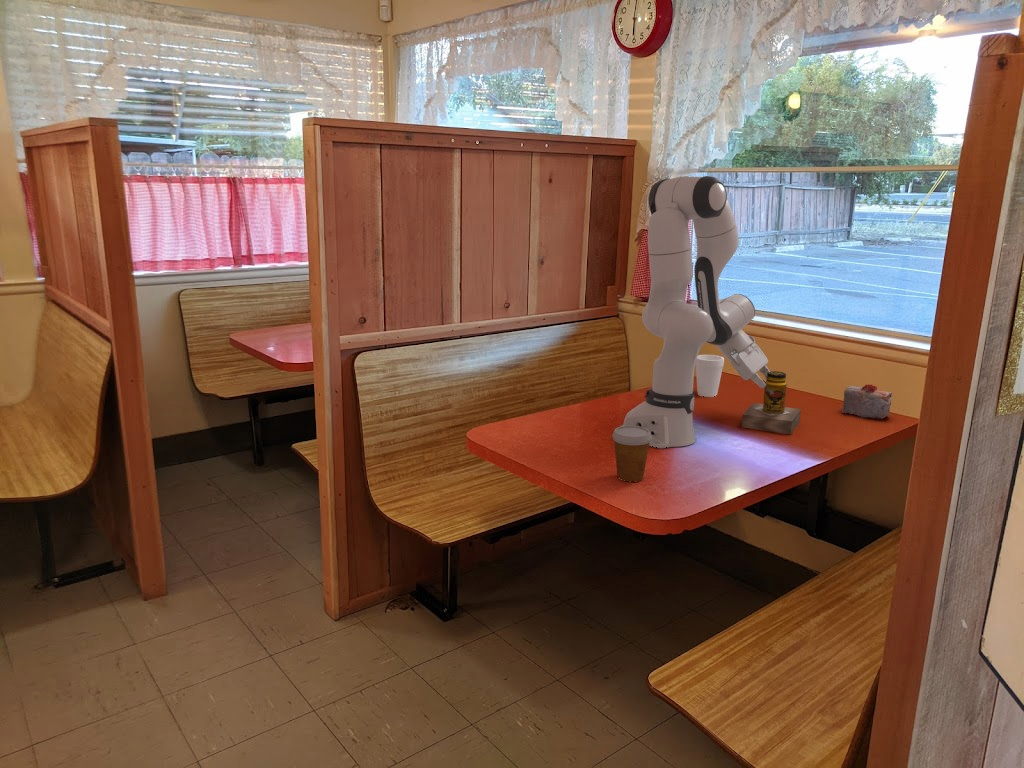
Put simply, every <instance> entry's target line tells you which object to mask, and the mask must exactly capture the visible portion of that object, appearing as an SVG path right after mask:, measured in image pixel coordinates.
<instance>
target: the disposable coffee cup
mask: <svg viewBox="0 0 1024 768" xmlns="http://www.w3.org/2000/svg"><path fill="white" fill-rule="evenodd" d="M620 426H621V427H620ZM620 426H617V427H616V428H614V431H613V433H612V435H611V437H612V439H613V443H614V444H613V445H614V453H615V465H616V477H617V476H618V477H617V479H618V478H620V479H622V480H625V481H634V482H633V483H636V482H635V481H639V482H641V481H643V480H644V475H645V471H646V470H645V469H646V465H647V460H648V454H649V447H650V446H649V443H650V441H651V439H652V436H651V434H650V431H649V430H648V429H646V428H643V427H639V426H622V425H620ZM620 479H619V480H620ZM642 479H643V480H642ZM622 480H621V481H622ZM640 480H641V481H640ZM625 481H624V482H625Z"/></svg>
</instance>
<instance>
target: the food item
mask: <svg viewBox="0 0 1024 768" xmlns="http://www.w3.org/2000/svg"><path fill="white" fill-rule="evenodd" d="M893 396H894V394H893V392H891V391H884V390H878V387H877V386H876V385H873V384H867V383H866V384H865V385H863V386H857V385H856V386H855V385H849V386H848V387H846V388H845V389H844V391H843V402H842V410H841V411H842V414H846V413H849V414H848V415H852V414H854V415H853V416H858V417H860V416H861V417H860V418H871V419H875V418H877V420H882V419H884V418H886V417H889V416H890V412H891V406H892V400H893Z"/></svg>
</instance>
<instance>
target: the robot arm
mask: <svg viewBox="0 0 1024 768" xmlns="http://www.w3.org/2000/svg"><path fill="white" fill-rule="evenodd" d="M647 199H648V201H647V203H648V208H649V212H650V214H651V215H650V217H649V219H648V225H647V226H648V227H647V249H648V261H649V262H648V264H649V275H650V289H649V295H648V300H647V303H646V305H645V306H644V307H643V310H642V314H641V321H642V324H643V325H644V327H645V328H646V330H647V331H649V332H650V333H651V334H652V335H653V336H655V337H658V338H660V339H663V345H662V349H661V352H660V354H659V356H658V357H657V358H655V360H654V362H653V365H652V367H653V368H652V369H653V370H652V384H651V386H649V387H648V388H647V390H646V391H645V392H643V398H644V399H645V401H643V402H641V403H639V404H637V405H636V406H635V407H634V408H632V409H631V410H629V411H628V412H627V414H626V415H625V417H624V420H623V424H622V425H620V426H619V427H621V426H639V427H643V428H646V429H648V430H649V431H650V434H651V436H652V439H651V441H650V443H649V447H652V446H653V447H652V448H656V447H657V449H666V447H667V448H673V447H674V448H675V447H676V448H678V447H685V446H689V445H693V444H694V443H696V442H697V441H696V440H697V439H696V435H695V430H694V422H693V412H694V408H695V391H694V378H695V369H696V364H695V363H696V359H697V356H698V355H699V352H700V351H701V348H702V347H703V345H704V344H705V343H708V344H710V345H714V346H716V347H717V348H718V350H719V351H720V352H721V353H722V355H723V356H724V357H725V358H726V359H727V361H729V362H730V364H731V365H732V367H733V368H734V370H735V371H736V372H737V373H738V375H739V376H740V377H741V378H742V379H743V380H744V381H748V380H749V379H750V380H751V381H752V382H753V383H755V384H756V385H757V386H758V387H759V388H760V389H764V388H765V386H766V385H767V383H766V380H767V373H768V372H771V371H770V369H769V368H768V366H767V364H769V359H768V358H767V356H766V355H765V353H764V352H763V350H762V349H761V348H760V346H759V345H758V344H757V343H756V339H755V338H754V337H753V336H751V335H748V333H746V332H745V331H744V330H743V329H744V327H746V326H747V325H748V324H750V323H751V322H752V320H753V319H754V318H755V315H756V308H755V306H754V303H753V302H752V300H751V299H750V298H749V297H748V296H746V295H743V294H741V293H736V294H733V295H730V296H727V297H725V298H721V299H720V296H719V295H720V294H719V288H718V287H719V286H718V285H719V283H718V282H719V279H720V277H721V274H722V273H723V271H724V269H725V267H726V266H727V265H728V263H729V261H730V260H731V259H732V257H734V255H735V253H737V252H736V251H737V249H738V247H739V231H738V228H737V223H736V220H735V214H734V212H733V210H732V207H731V204H730V202H729V199H728V194H727V189H726V186H725V184H724V183H723V181H722V180H721V179H720V178H718V177H714V176H712V175H711V176H708V175H704V176H689V175H688V176H687V175H684V176H678V177H672V178H665V179H661V180H658V181H657V182H655V183H653V185H652V186H651V188H650V191H649V192H648V198H647ZM691 220H692V225H693V230H694V234H695V238H696V246H697V247H696V250H697V251H696V258H695V259H696V260H695V264H694V267H693V257H692V256H693V255H692V244H691V237H690V232H689V228H688V225H689V222H690V221H691ZM693 277H694V278H693ZM693 279H694V284H695V292H696V301H697V305H696V304H695V305H693V304H691V303H687V300H686V295H687V289H688V286H689V284H690V283H691V282H692V281H693ZM759 371H760V374H761V373H762V375H763V376H764V378H765V380H764V379H762V378H761V377H760V376H759V373H758V372H759Z"/></svg>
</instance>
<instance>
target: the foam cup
mask: <svg viewBox="0 0 1024 768" xmlns="http://www.w3.org/2000/svg"><path fill="white" fill-rule="evenodd" d="M724 366H725V358H724V357H723V356H721V355H716V354H698V356H697V359H696V363H695V374H696V375H695V376H696V389H697V395H698V396H699V397H703V396H704V397H703V398H714V396H715V397H717V396H716V395H718V392H719V387H720V382H721V377H722V372H723V368H724Z"/></svg>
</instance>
